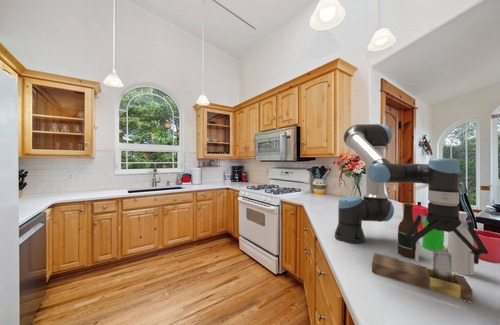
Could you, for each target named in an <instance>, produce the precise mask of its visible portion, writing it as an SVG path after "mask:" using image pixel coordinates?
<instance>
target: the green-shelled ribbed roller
mask: <svg viewBox="0 0 500 325" xmlns="http://www.w3.org/2000/svg"><path fill="white" fill-rule="evenodd" d="M424 214H425V215H424V216H427V215H428V211H425V213H424ZM422 222H423V225H422V226H423V227H422V229H423V228H424V227H426V225H428V224H429V222H428V221H427V220H426V219H425V220H424V221H422ZM444 242H445V231H439V230H436V229H433V230H432V231H430V232H428V233H427V234H426V235H424V236H423V237H422V247H423V248H424V249H425V250H426V249H427V250H429V251H432V252H433V250H441V251H445V249H446V248H445V245H444ZM445 252H446V251H445Z"/></svg>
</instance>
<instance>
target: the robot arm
mask: <svg viewBox="0 0 500 325" xmlns="http://www.w3.org/2000/svg"><path fill="white" fill-rule="evenodd" d="M392 138H393V135H392V131H391V129H390V127H389V126H388V125H386V124H379V123H376V124H375V123H374V124H372V123H371V124H370V123H368V124H359V123H358V124H354V125H351V126H349V127H348V128H347V129H346V131H344V134H343V142H344V144H345V145H346V146H347V147H348V148H349V149H352V150H353V151H354V152H355V153H356V155H357V156H358V157H359V159H361V161H362V162H363V163H364V164H365V193H364V195H363V196H362V197H363V198H362V197H361V196H353V195H351V196H350V195H349V196H343V197H340V198H339V199H338V205H337V208H338V215H337V217H338V218H337V221H338V223H337V226H336V228H335V230H334V237H335V239H337V240H338V241H340V242H342V243H348V244H353V245H362V244H364V243H366V236H365V233H364V230H363V227H362V226H363V225H362V224H363V221H364V222H379V223H380V222H382V223H383V222H389V221H390V220H391V219H392V218H393V217H394V214H395V207H394V205H393V202H392V201H390V200H389V197H388V195H386V194H385V183H388V184H389V183H393V184H394V183H395V184H396V183H401V184H425V185H428V189H427V190H428V191H427V200H428V201H429V202H428V204H427V212H428V215H427V216H425V215H421V214H420V213H417V214H415V220H414V223H413V224H412V226H411V227H410V229H409V230H408V231H407V233H406V234H405V237H406V239H409V240H411V248H412V250H414V251H415V261H416V262H419V259H420V257H419V256H420V243H419V240H420V239H423V236H424V235H426V234H427V233H428V232H430V231H432V230H433V229H436V230H439V231H444V232H446V233H448V232H452V231H453V232H454V233H455V234H456V235H457V236H458V237H459V238H460V239H461V240H462V241H463V242H464V243H465V244H466V245H467V246H468V247H469V248H470V249H471V250H472V251H468V272H469V273H470V274H472V275H474V274H475V269H474V268H475V265H479V263H480V260H479V258H480V255H481V254H482V255H483V254H484V255H487V254H489V251H488V249H487V248H486V246H485V245H484V243H483V241H482V240H481V238H480V236H479V235H478V233H477V232H476V230H475V225H474V223H473V222H472V221H471V220H467V219H466V221H460V220H459V211H460V206H458V205H460V178H461V177H460V176H461V175H460V173H461V169H460V162H459V160H458V159H457V158H430V159H429V160H428V163H427V164H426V163H425V164H424V163H392V162H390V160H388V159H387V158H386V157H385V154H384V151H385V150H386V149H387V148H388V147H387V145H388V146H389V145H390V143H391V142H392ZM425 219H426V220H427V221H428V222H429V224H428V225H426V227H424V228H423V227H422V228H421V230H418V233H417V234H415V235H414V236H413V237H412V234H413V233H414V231H415V230H416V229H417V228H419V226H420V225H421V222H423V221H424V220H425ZM461 224H462V225H463V226H464V227H465V228H467V229H468V231H469V233H470V234H471V236H472V238H473V242H475V245H476V246H477V247H475V246H474V244H473V245H472V244H471V243H470V242H469V241H468V240H467V239H466V238H465V237H464V236H463V235H462V234H461V233H460V232H459V231H458V230H457V229H456V228H457V227H458V226H460V225H461ZM472 275H471V276H472Z"/></svg>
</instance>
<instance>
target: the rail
mask: <svg viewBox="0 0 500 325" xmlns="http://www.w3.org/2000/svg"><path fill="white" fill-rule="evenodd" d="M371 272H372V273H374V274H376V275H380V276H384V277H388V278H390V279H395V280H397V281H401V282H404V283H407V284H411V285H414V286H418V287H421V288H424V289H427V290H430V291H434V292H438V293H441V294H444V295H448V296H451V297H455V298H457V299H461V300H462V301H463V300H466V301H465V302H467V301H470V302H472V303H473V288H472V287H471V286H470V284H469V283H468V281H467V280H466V278H465V275H462V274H458V273H457V274H456V273H453V272H452V283H451V282H447V281H443V280H440V279H436V278H433V267H429V266H425V265H424V266H423V265H420V264H415V263H411V262H408V261H403V260H400V259H399V260H396V259H392V258H388V257H384V256H380V255H376V254H374V253H373V257H372V262H371ZM470 302H469V303H470Z"/></svg>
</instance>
